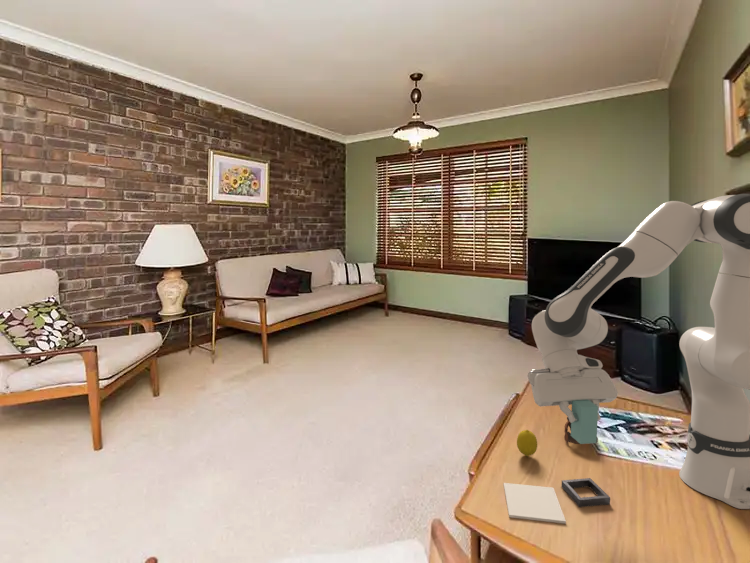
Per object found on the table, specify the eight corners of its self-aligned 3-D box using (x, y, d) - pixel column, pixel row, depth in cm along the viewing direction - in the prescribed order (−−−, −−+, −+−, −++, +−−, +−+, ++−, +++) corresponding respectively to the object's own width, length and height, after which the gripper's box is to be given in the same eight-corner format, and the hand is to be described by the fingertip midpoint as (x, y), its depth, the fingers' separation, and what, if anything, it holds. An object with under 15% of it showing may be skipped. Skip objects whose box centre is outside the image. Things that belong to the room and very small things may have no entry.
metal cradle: (589, 484, 102) (590, 478, 101) (609, 504, 94) (610, 497, 94) (561, 487, 101) (561, 480, 101) (579, 507, 93) (579, 500, 93)
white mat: (553, 489, 100) (553, 487, 100) (565, 523, 88) (565, 521, 88) (503, 484, 102) (503, 482, 102) (509, 517, 91) (509, 514, 91)
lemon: (538, 462, 112) (539, 435, 111) (518, 460, 113) (518, 433, 112) (535, 451, 118) (535, 426, 117) (515, 450, 119) (515, 424, 118)
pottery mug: (607, 448, 119) (601, 430, 116) (578, 462, 120) (571, 444, 116) (582, 421, 130) (576, 403, 127) (556, 434, 131) (549, 417, 127)
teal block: (586, 434, 98) (587, 399, 97) (596, 442, 94) (598, 406, 93) (570, 435, 98) (571, 400, 97) (580, 444, 94) (581, 407, 93)
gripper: (529, 364, 100) (549, 419, 91) (606, 360, 102) (632, 413, 93) (521, 375, 105) (538, 428, 96) (595, 371, 107) (618, 422, 98)
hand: (585, 421), depth 95 cm, fingers closed on teal block, 4 cm apart
